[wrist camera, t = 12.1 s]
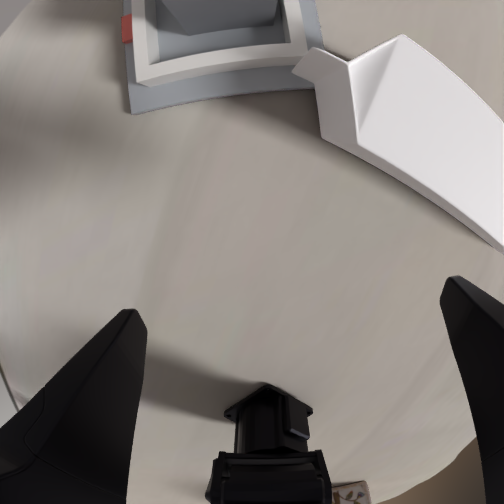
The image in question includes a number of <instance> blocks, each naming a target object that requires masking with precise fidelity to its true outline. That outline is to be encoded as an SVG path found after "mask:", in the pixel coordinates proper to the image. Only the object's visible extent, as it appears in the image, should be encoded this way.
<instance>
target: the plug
mask: <svg viewBox="0 0 504 504" xmlns="http://www.w3.org/2000/svg"><path fill="white" fill-rule="evenodd" d="M161 1H162V2H163V3H164V5H165V6H166V7H167V8H168V10H169V11H170V12H171V13H172V15H173V16H174V17H175V18H176V20H177V21H178V22H179V24H180V25H181V26H182V27H183V29H184V30H185V31H186V33H187V34H188V35H189V36H192V35H198V34H203V33H210V32H216V31H223V30H231V29H240V28H250V27H262V26H273V25H274V18H275V12H276V6H277V0H161Z"/></svg>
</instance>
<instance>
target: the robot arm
mask: <svg viewBox="0 0 504 504" xmlns="http://www.w3.org/2000/svg"><path fill="white" fill-rule="evenodd" d="M440 306H441V310H442V313H443V317H444V320H445V324H446V327H447V331H448V335H449V339H450V343H451V346H452V350H453V353H454V356H455V359H456V362H457V365H458V368H459V371H460V374H461V377H462V381H463V384H464V387H465V391H466V394H467V398H468V402H469V405H470V409H471V413H472V417H473V422H474V426H475V431H476V435H477V440H478V445H479V451H480V457H481V461H482V463H481V464H482V470H483V478H484V486H485V496H486V504H504V304H502V303H501V302H499V301H498V300H496V299H495V298H493V297H492V296H490V295H489V294H487V293H486V292H484V291H483V290H481V289H480V288H478V287H477V286H475V285H474V284H472V283H471V282H469V281H468V280H466V279H464V278H463V277H461V276H452V277H448V278H447V280H446V282H445V285H444V288H443V291H442V294H441V296H440ZM146 344H147V328H146V326H145V324H144V322H143V320H142V318H141V316H140V315H139V313H138V311H137V310H136V309H123V310H121V311H120V312H119V313H118V314H117V315H116V316H115V317H114V318H113V319H112V320H111V321H110V322H108V323H107V324H106V325H105V326H104V327H103V328H102V329H101V330H100V331H99V332H98V333H97V334H96V335H95V336H94V337H93V338H92V339H91V340H90V341H89V342H88V343H87V344H86V345H85V346H84V347H83V348H82V349H80V350H79V351H78V352H77V353H76V354H75V355H74V356H73V357H72V358H71V359H70V360H69V361H68V362H67V363H66V364H65V365H64V366H63V367H62V368H61V369H60V370H59V371H58V372H57V373H56V374H55V375H54V376H53V377H52V379H51V380H50V381H49V382H48V383H47V384H46V385H45V387H43V388H42V389H41V390H40V391H39V392H38V393H37V394H36V395H35V396H34V397H33V398H32V399H31V400H30V401H29V402H28V403H27V404H26V405H25V406H24V407H23V408H22V409H21V410H20V411H19V412H18V413H16V414H15V415H14V416H13V417H12V418H11V419H10V420H9V421H8V422H7V423H6V424H4V425H3V426H2V427H1V428H0V504H126V496H127V486H128V476H129V468H130V460H131V452H132V445H133V438H134V431H135V424H136V418H137V412H138V406H139V401H140V395H141V389H142V384H143V376H144V365H145V354H146ZM312 414H313V409H312V408H311V407H309V406H307V405H305V404H304V403H302V402H300V401H298V400H296V399H295V398H293V397H291V396H289V395H287V394H286V393H284V392H282V391H280V390H279V389H277V388H275V387H274V386H272V385H265V386H263V387H261V388H260V389H258V390H257V391H255V392H254V393H252V394H251V395H249V396H248V397H246V398H245V399H243V400H242V401H240V402H239V403H237V404H235V405H234V406H232V407H231V408H229V409H227V410H226V411H225V412H224V417H226V418H227V419H229V420H231V421H233V422H235V423H236V428H235V442H234V453H226V452H222V451H219V456H218V458H216V459H215V460H213V467H212V474H211V478H210V481H209V484H208V487H207V490H206V493H205V498H206V499H207V500H208V501H209V502H210V503H211V504H332V486H331V481H330V477H329V474H328V471H327V467H326V464H325V460H324V457H323V453H322V450H315V451H310V452H308V446H307V440H308V439H309V438H310V433H309V426H308V419H307V417H308V416H310V415H312Z"/></svg>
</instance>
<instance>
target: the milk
mask: <svg viewBox="0 0 504 504" xmlns="http://www.w3.org/2000/svg"><path fill="white" fill-rule="evenodd" d="M292 73H293V74H295V75H297V76H299V77H301V78H304V79H306V80H308V81H310V82H312V83H314V86H315V93H316V100H317V107H318V114H319V122H320V131H321V137H322V138H323V139H324V140H326V141H328V142H330V143H332V144H334V145H336V146H338V147H340V148H342V149H344V150H346V151H348V152H350V153H352V154H353V155H355V156H357V157H359V158H361V159H363V160H365V161H366V162H368V163H370V164H372V165H374V166H375V167H377V168H379V169H381V170H382V171H384V172H386V173H387V174H389V175H391V176H392V177H394V178H396V179H397V180H399V181H401V182H402V183H404V184H406V185H407V186H409V187H410V188H412V189H413V190H415V191H417V192H418V193H420V194H421V195H423V196H424V197H426V198H427V199H429V200H430V201H432V202H433V203H435V204H436V205H438V206H439V207H441V208H442V209H443V210H445V211H446V212H448V213H449V214H451V215H452V216H453V217H455V218H456V219H457V220H459V221H460V222H462V223H463V224H464V225H466V226H467V227H468V228H470V229H471V230H472V231H473V232H475V233H476V234H477V235H479V236H480V237H481V238H482V239H484V240H485V241H486V242H487V243H489V244H490V245H491V246H492V247H493V248H495V249H496V250H498V251H499V252H500V253H502V254H503V255H504V122H503V121H502V120H501V119H500V118H499V117H498V116H497V114H496V113H495V112H494V111H493V110H492V109H491V108H490V107H489V106H488V105H487V104H486V103H485V102H484V101H483V100H482V99H481V98H480V97H479V96H478V95H477V94H476V93H475V92H474V91H473V90H472V89H471V88H470V87H469V86H468V85H467V84H466V83H465V82H464V81H463V80H461V79H460V78H459V77H458V76H457V75H456V74H455V73H454V72H452V71H451V70H450V69H449V68H448V67H447V66H445V65H444V64H443V63H442V62H440V61H439V60H438V59H437V58H435V57H434V56H433V55H432V54H430V53H429V52H428V51H426V50H425V49H424V48H422V47H421V46H420V45H418V44H417V43H416V42H414V41H413V40H411V39H410V38H408V37H407V36H405V35H404V34H399V35H397V36H395V37H393V38H391V39H389V40H387V41H385V42H383V43H381V44H379V45H377V46H375V47H374V48H372V49H370V50H368V51H366V52H364V53H362V54H361V55H359V56H357V57H355V58H353V59H352V60H350V61H348V62H347V61H344V60H342V59H340V58H338V57H336V56H334V55H332V54H330V53H328V52H326V51H324V50H322V49H319V48H316V47H312V48H311V49H310V50H309V51H308V52H307V53H306V54H305V56H304V57H303V58H302V59H301V60H300V61H299V63H298V64H297V65H296V66H295V67H294V69H293V70H292Z"/></svg>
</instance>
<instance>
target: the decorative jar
mask: <svg viewBox="0 0 504 504" xmlns="http://www.w3.org/2000/svg"><path fill="white" fill-rule="evenodd" d="M332 504H372V501H371V497H370V492H369V488H368V484H367V482H366V481H361V482H357V483H353V484H348V485H344V486H339V487H333V488H332Z"/></svg>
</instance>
